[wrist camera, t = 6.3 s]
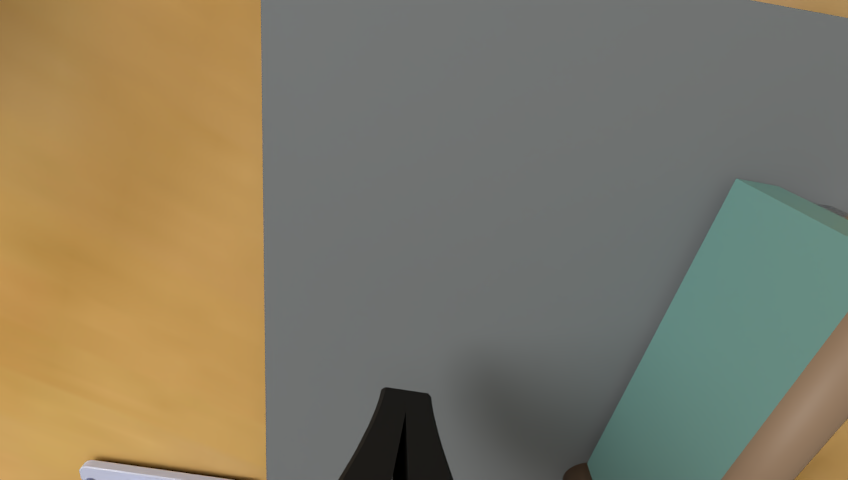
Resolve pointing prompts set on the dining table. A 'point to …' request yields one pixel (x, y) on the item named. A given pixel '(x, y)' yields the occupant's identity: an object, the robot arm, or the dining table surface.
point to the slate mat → (511, 204)
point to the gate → (742, 351)
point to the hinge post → (578, 473)
